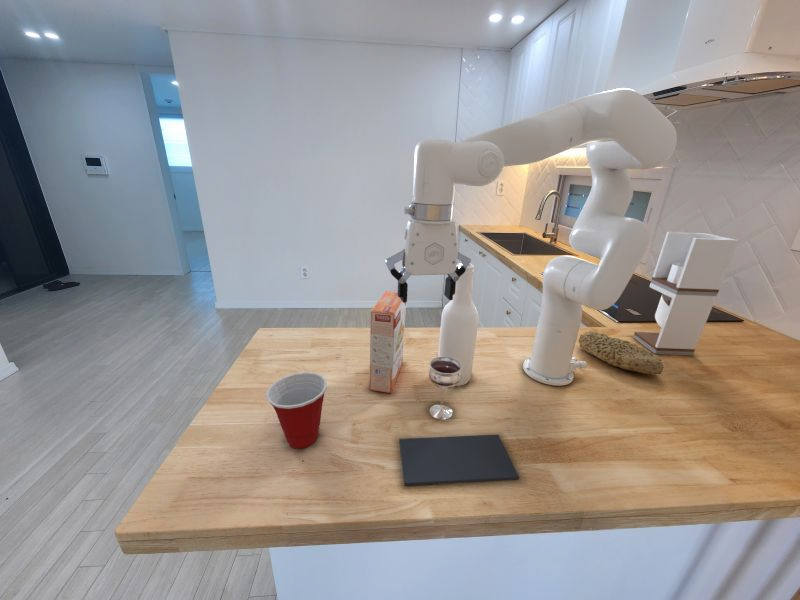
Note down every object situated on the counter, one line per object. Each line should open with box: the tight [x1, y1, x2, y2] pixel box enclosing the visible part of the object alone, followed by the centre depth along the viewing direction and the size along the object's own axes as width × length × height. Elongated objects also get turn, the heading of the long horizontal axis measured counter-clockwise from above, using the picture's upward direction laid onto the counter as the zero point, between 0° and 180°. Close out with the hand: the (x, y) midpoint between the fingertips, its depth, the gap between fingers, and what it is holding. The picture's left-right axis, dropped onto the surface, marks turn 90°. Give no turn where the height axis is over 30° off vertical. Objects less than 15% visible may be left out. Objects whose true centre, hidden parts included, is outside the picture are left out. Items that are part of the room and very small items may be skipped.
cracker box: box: [368, 290, 407, 394], centre depth 82 cm, size 14×6×21 cm, turn 168°
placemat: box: [398, 434, 520, 487], centre depth 62 cm, size 20×10×1 cm, turn 95°
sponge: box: [578, 330, 665, 376], centre depth 95 cm, size 13×8×20 cm
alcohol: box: [437, 262, 480, 387], centre depth 81 cm, size 9×9×30 cm
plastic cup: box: [265, 371, 328, 450], centre depth 63 cm, size 11×11×12 cm
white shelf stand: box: [632, 231, 740, 356], centre depth 100 cm, size 11×11×35 cm
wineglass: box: [428, 356, 462, 420], centre depth 72 cm, size 7×7×12 cm
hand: (426, 299), depth 69 cm, fingers open, 9 cm apart
